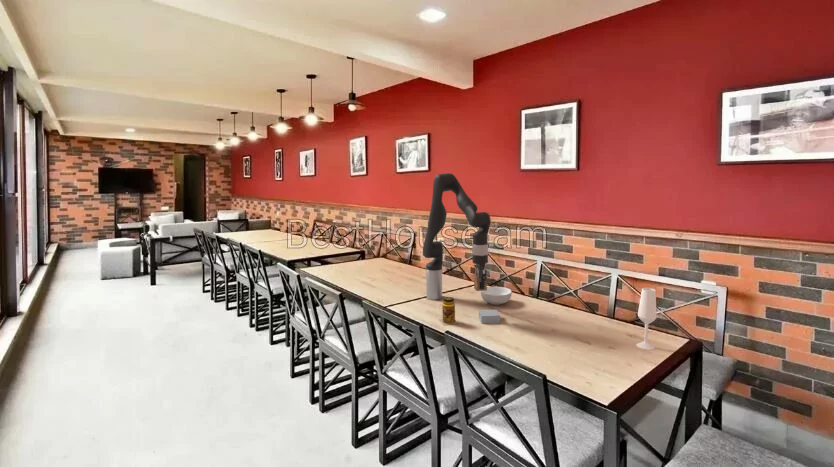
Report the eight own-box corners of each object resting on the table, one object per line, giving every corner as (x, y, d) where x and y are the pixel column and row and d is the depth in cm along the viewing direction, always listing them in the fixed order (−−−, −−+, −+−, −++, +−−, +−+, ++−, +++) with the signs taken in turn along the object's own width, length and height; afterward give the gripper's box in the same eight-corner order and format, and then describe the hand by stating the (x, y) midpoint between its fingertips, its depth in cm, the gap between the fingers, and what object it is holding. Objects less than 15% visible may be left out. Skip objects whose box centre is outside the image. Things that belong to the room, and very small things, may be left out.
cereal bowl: (475, 300, 237) (475, 288, 236) (499, 296, 244) (499, 284, 243) (492, 309, 222) (492, 296, 221) (517, 304, 228) (517, 292, 227)
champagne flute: (638, 341, 176) (641, 286, 172) (656, 345, 172) (659, 288, 168) (634, 346, 171) (637, 289, 167) (653, 351, 166) (656, 292, 163)
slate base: (478, 317, 210) (478, 310, 210) (496, 317, 210) (496, 309, 210) (481, 324, 201) (481, 316, 201) (500, 323, 201) (500, 315, 201)
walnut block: (474, 288, 207) (474, 274, 206) (484, 287, 208) (483, 274, 207) (476, 291, 202) (476, 276, 201) (486, 290, 203) (486, 276, 202)
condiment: (444, 325, 200) (444, 301, 198) (438, 319, 208) (438, 296, 206) (458, 323, 202) (458, 299, 200) (452, 317, 210) (451, 294, 208)
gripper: (469, 251, 209) (469, 284, 211) (476, 256, 195) (476, 291, 197) (483, 250, 210) (484, 283, 212) (491, 255, 196) (492, 290, 198)
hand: (480, 287), depth 205 cm, fingers closed on walnut block, 5 cm apart
